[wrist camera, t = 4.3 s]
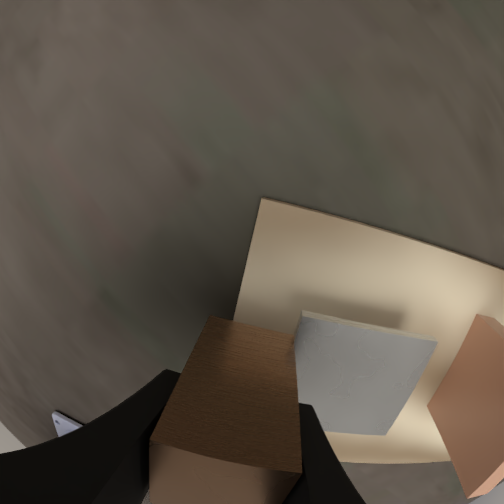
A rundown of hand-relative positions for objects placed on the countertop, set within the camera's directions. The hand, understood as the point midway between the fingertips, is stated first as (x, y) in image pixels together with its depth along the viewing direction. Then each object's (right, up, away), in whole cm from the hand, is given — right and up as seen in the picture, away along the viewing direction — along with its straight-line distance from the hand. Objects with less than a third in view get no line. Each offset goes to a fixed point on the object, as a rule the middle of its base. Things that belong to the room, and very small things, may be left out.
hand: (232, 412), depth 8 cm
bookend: (+3, 0, +3) cm, 4 cm away
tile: (+12, -1, +5) cm, 13 cm away
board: (+10, -2, +6) cm, 12 cm away
